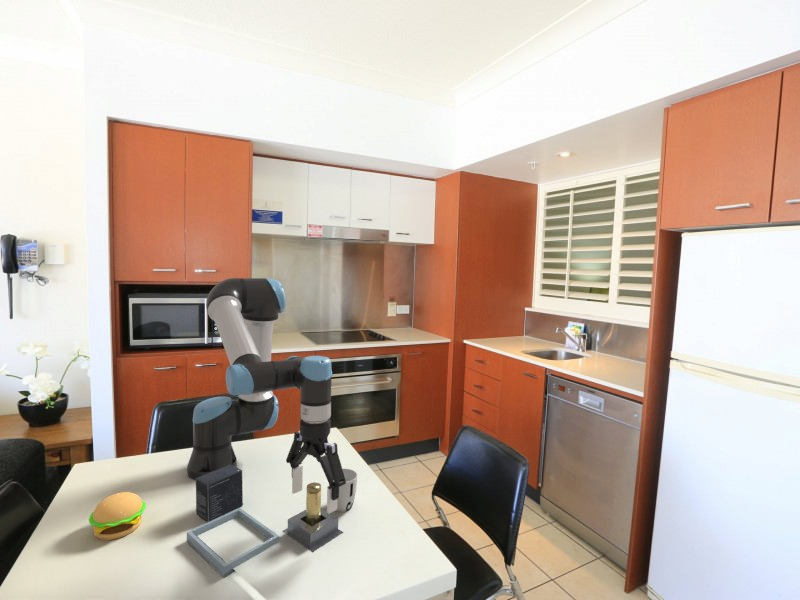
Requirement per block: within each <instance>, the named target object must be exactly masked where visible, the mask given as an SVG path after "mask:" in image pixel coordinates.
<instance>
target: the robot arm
mask: <svg viewBox="0 0 800 600" xmlns="http://www.w3.org/2000/svg"><path fill="white" fill-rule="evenodd" d="M205 302H206V303H205V304H206V305H205V307H206V312H207V315H208V316H209V319H211V320H212V321H214V323H215V326H216V327H217V331H218V334H219V337H220V340H221V342H222V345H223V347H224V351H225V353H226V356H227V359H228V362H229V365H228V367H227V368H226V371H225V384H226V390H227V392H228V394H229V395H231V396H237V399H234V400H232V398H231V397H229V396H216V397H211V398H207V399H205V400H202V401H200V402H198V403H197V404H196V405H195V407H194V409H193V412H192V413H193V415H192V416H193V417H192V432H193V433H192V441H193V442H192V451H191V454H190V456H189V457H190V458H189V460H188V462H187V465H186V474H187V477H188V478H190V479H192V480H195V481H196V478H198V477H200V476H203V475H205V474H208V473H210V472H213V471H215V470H218V469H220V468H223V467H225V466H228V465H232V466H235V467H237V466H238V461H237V455H236V453H235V451H234V448H233V445H232V437H233V436H239V435H244V434H250V433H254V432H262V431H265V430H268V429H272V427H273V426H274V425H275V424H276V423H277V420H278V417H279V416H278V415H279V400H278V397H276V395H275V394H274V392H273V391H281V390H287V389H295V388H297V389H298V390H300V400H299V402H300V408H299V409H300V414H299V415H300V417H299V418H300V421H299V431H295V432H294V435H293V441H292V444H291V446H290V449H289V451H288V454H287V457H286V460H285V461H286V464H289V465H290V468H291V480H292V481H291V482H292V483H291V493H292V494H293V495H294V494H297V493H299V492H301V491H303V475H304V474H303V471H304V470H303V465H302V464H303V462H304V460H305V459H306V458H307V456H308V455H309V456H311V457H313V458H315V459H316V461H317V462H318V463H319V465H320V466H321V469H322V471H323V473H324V475H325V477H326V480H327V482H328V485H327V487H326V488H327V489H326V490H327V491H326V492H327V493H326V496H327V497H326V511H327V513H328V514H330V513H331V514H332V513H334V512H335V511H336V510H337V499H338V498H339V487H340V486H342V485H344V484H346V480H345V477H344V473H343V470H342V469H343V467H342V463H341V459H340V457H339V453H338V443H336V442H334V443H329V439H328V437H329V435H330V433H331V422H332V421H331V416H332V401H331V400H332V380H333V377H332V376H333V371H332V361H331V359H330V357H328V356H322V355H309V356H308V355H307V356H306V357H303V356H299V355H292V356H288V357H286V358H285V359H281V360H272V347H273V345H272V344H273V330H274V323H275V322H277V321H278V320H279V314H282V313H283V312H285V309H286V305H287V304H286V293H285V290H284V286H283V285H282V283H281V282H280V281H279V280H278V279H275V278H274V279H273V278H266V277H263V278H261V277H259V278H258V277H257V278H256V277H251V278H250V277H241V278H240V277H230V278H226V279H224V280H221V281H220V282H218V283H216V284H215V285H214V287H213V288H212V289H211V290H210V291H209V293H208V295H207V298H206V301H205ZM237 468H238V467H237ZM333 480H334V482H333ZM329 485H330V486H329Z"/></svg>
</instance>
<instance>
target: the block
mask: <svg viewBox="0 0 800 600" xmlns="http://www.w3.org/2000/svg"><path fill="white" fill-rule="evenodd" d="M282 533H284V534H286V535H287V536H288V537H290V538H292V539H293V540H294V541H295V542H296V543H298V544H300V545H301V546H302V547H304V548H305V549H307V550H308V551H309V552H312V553H314V552H316V551H317V550H318V549H320V548H322V547H323V546H325V545H326V544H328V543H329V542H331V541H333V540H334V539H336V538H337V537H339V536H341V535H343V534H344V531H343V530H341V529H339V517H338V516H337V515H335V514H333V513H332V512H331V513H330V514H328V513H327V509H324V508H323V507H321V517H320V522H319V523H317V524H316V525H314V526H310V525H309V524H307V523H306V509H304V510H302V511H300V512H299V513H297V514H295V515H292V516H291V517H290V518H288V519H287V527H286V528H285V529H284V530H282Z"/></svg>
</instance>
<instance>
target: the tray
mask: <svg viewBox="0 0 800 600" xmlns="http://www.w3.org/2000/svg"><path fill="white" fill-rule="evenodd" d="M238 517H239V518H241V519H243V520H244V521H245V522H246V523H248V524H249V525H250V526H252V527H253V528H255V529H256V530H257V531H258V532H260V533H261V534H263V535H264V536H265V537H266V538H268V539H267V540H265V541H263V542H262V543H259V544H258V545H256V546H254V547H252V548H250V549H248V550H247V551H245V552H243V553H241V554H240V555H238V556H236V557H234V558H232V559H231V560H229V561H227V562H226V561H225V560H224V559H223V558H222V557H221V556H219V554H217V552H215V551H214V550H213V549H212V548H211V547H209V545H207V543H205V542H204V541H203V540H202V539H201V538H200V537H199V535H200V536H201V535H202V534H204V533H206V532H209V531H210V530H213V529H214V528H217V527H219V526H221V525H223V524H225V523H228V522H229V521H232V520H234V519H236V518H238ZM186 543H187V544H188V545H190V547H192V548H193V549H194V551H195V552H197V553H198V554H199V555H200V557H202V558H203V559H204V560H205V561H206V562H207V563H208V564H209V565H210V566H211V567H212V568H213V569H214V570H215V571H217V572H218V574H220V576H222V577H223V578H227V577H228V576H230V575H231V574H233V573H235V572H236V570H235V568H237V567H238V566H240V565H242V564H243V563H246V562H247V561H249V560H250V559H252V558H254V557H256V556H258V555H260V554H261V553H263V552H265V551H266V550H268V549H270V548H272V547H273V546H276V545H277V544H278V543H280V535H279V534H277V533H275V532H274V531H273V530H272V529H271V528H269V527H267V526H266V525H265V524H264V523H262V522H261V521H259V520H257V519H256V518H255V517H254V516H252V515H250V513H248V512H247V511H245V510H244V509H243V508H241V507H239V508H237V509H235V510H233V511H231V512H229V513H227V514H225V515H223V516H220V517H219V518H216V519H214V520H212V521H210V522H206V523H204V524H201V525H199V526H197V527H195V528H193V529H190V530H187V531H186Z"/></svg>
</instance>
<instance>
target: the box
mask: <svg viewBox="0 0 800 600" xmlns="http://www.w3.org/2000/svg"><path fill="white" fill-rule="evenodd" d="M243 499H244V497H243V469H241V468H238V467H235V466H232V465H228V466H225V467H223V468H220V469H218V470H215V471H213V472H210V473H208V474H205V475H203V476H200V477H198V478H196V480H195V500H196V501H195V513H196V516H197V517H199V518H201V519H202V520H204V521H205V522H206V523H208V522H210V521H212V520H214V519H216V518H219V517H221V516H223V515H225V514H227V513H230V512H232V511H234V510H236V509H238V508H241V507H242V506H243V505H244V503H243V501H244V500H243Z"/></svg>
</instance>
